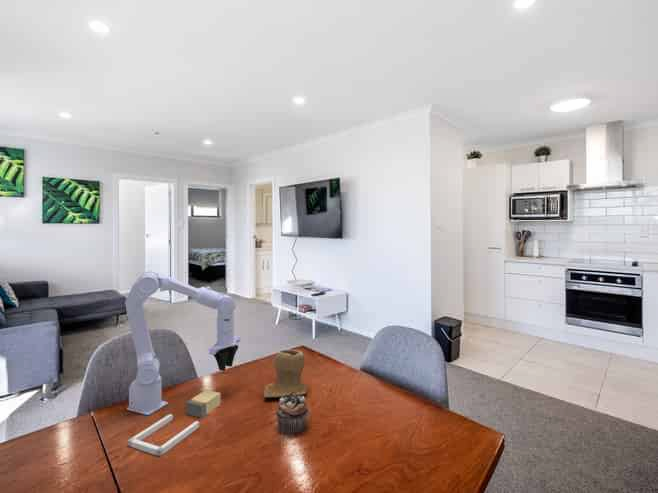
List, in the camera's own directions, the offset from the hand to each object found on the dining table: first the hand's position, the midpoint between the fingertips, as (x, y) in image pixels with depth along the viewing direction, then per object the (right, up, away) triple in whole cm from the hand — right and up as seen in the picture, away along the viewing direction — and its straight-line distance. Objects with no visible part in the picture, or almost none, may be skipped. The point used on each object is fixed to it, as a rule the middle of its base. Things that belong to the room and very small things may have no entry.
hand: (225, 367), depth 121 cm
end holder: (-9, -11, -24) cm, 28 cm away
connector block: (-4, -10, -10) cm, 15 cm away
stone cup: (+21, -10, +2) cm, 23 cm away
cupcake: (+26, -11, -19) cm, 34 cm away
